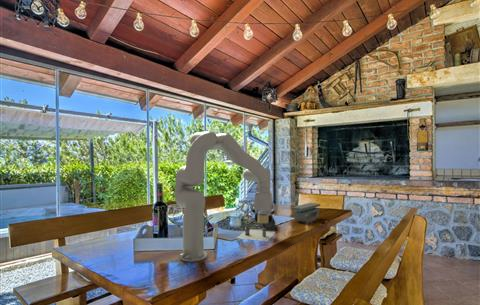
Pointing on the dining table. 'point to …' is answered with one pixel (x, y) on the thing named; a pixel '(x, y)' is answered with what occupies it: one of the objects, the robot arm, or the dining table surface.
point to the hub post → (247, 230)
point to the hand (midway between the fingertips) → (263, 221)
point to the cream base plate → (257, 235)
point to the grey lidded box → (306, 212)
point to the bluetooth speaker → (268, 225)
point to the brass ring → (263, 218)
